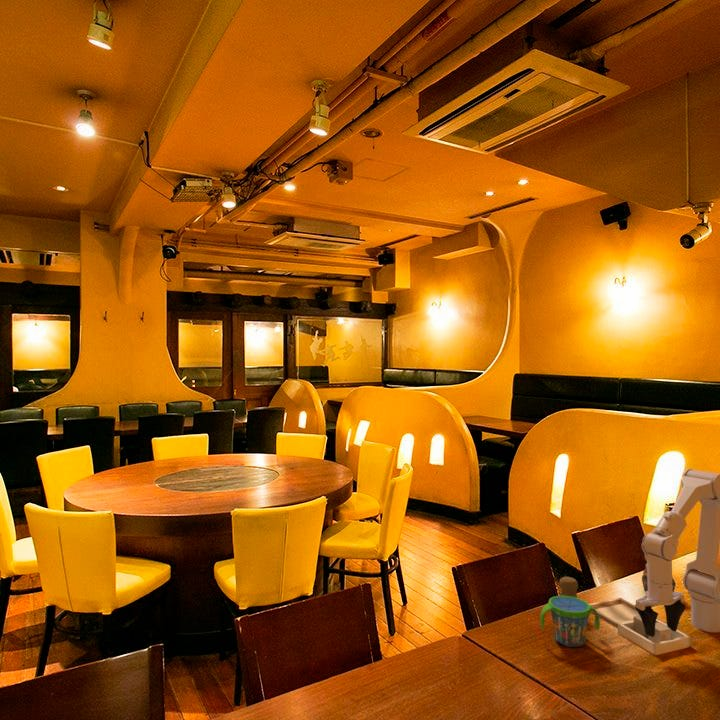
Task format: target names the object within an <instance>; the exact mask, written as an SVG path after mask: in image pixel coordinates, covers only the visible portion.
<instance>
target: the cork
mask: <svg viewBox="0 0 720 720" xmlns="http://www.w3.org/2000/svg"><path fill="white" fill-rule="evenodd" d="M558 584H559V587H560V596H571V597H576V598H578V596H577V591H578V588H579V584H578V581H577V580H576V579H575V578H573V577H572V576H571V577H570V576H563V577H560V579H559V583H558Z"/></svg>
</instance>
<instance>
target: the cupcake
mask: <svg viewBox="0 0 720 720" xmlns="http://www.w3.org/2000/svg"><path fill="white" fill-rule="evenodd" d="M641 582H642V586H643V587H642V588H643V591H644V593H645V592H646V591H648V578H647V563H645V568H644V570H643V572H642V575H641ZM676 585H677V583H676V582H675V579H674V577H673V576H672V586H673V592H675V588H676Z"/></svg>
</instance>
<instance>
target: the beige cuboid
mask: <svg viewBox="0 0 720 720" xmlns="http://www.w3.org/2000/svg"><path fill="white" fill-rule="evenodd" d="M648 639H649V640H650V641H652V642H654V643H657V642H662V641H666V640H670V639H672V638H671V630H670V628H668V627H666V626H665V625H663V624H661V623H659V622H658V623H655V635H654V637H651V636H649V638H648Z"/></svg>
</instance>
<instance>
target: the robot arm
mask: <svg viewBox="0 0 720 720" xmlns="http://www.w3.org/2000/svg"><path fill="white" fill-rule="evenodd" d="M682 473H683V474H682V476H681V478H680V484H681V490H680V492H679V494H678V495H677V496H678V497H677V498H676V500H675V503H674V504H673V507H672V509H671V510H670V511H669V510H668V511H665V512H664V513H663V514H662V516H661V518H660V519H659V520H658V523H657V524H656V525H655V527H654V529H653V530H652V532H651V531H650V532H649V533H645V535H644V536H643V538H642V542H641V549H642V552H643V553H644V560H645V561H646V564H647V578H648V591H646V592H645V591H644V593H645V595H643V596H642V597H640V598H639V599H635V604H634V605H635V608H636V610H637V611H638V613H639V615H640V617H641V619H642V622H643V625H644V628H645V632H646V634H648V635H649V636H651V637H654V635H655V623H656V619H657V618H658V616H659V613H658V612H656V611H654V607H658V606H663V607H664V611H665V618H666V624H667V627H668V628H670V630H672V631H674V632H675V631H676V630H678V626H679V623H680V619H681V617H682V615H683V614H684V612H685V611H686V609H687V606H686V604H685V603H683V602H685V594H684V593H682V592H680V591H674V592H673V586H672V577H673V561H672V560H673V559H674V558H675V557H676V555H677V552H678V545H679V538H680V536H681V535H682V534H683V532H684V530H685V529H686V527H687V525H688V523H687V522H686V518H687V516H688V515H689V514H690V512H691V511H692V510H693V509H694V508H695V506H696V505H697V503H698V502H699V503H700V504H701V507H700V515H699V517H700V518H699V527H698V537H697V545H696V557H695V560H691V561H690V562H688V563H686V568H685V571H684V573H683V575H682V576H683V577H682V583H683V586H684V588H685V590H687V595H690V613H691V615H690V618H691V625H692V626H693V627H694V628H695V629H698V630H700V631H703V632H707V633H720V565H719V555H720V473H715V472H709V471H704V470H696V469H693V468H687V469H686V470H685V471H684V472H682ZM657 620H658V619H657Z"/></svg>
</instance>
